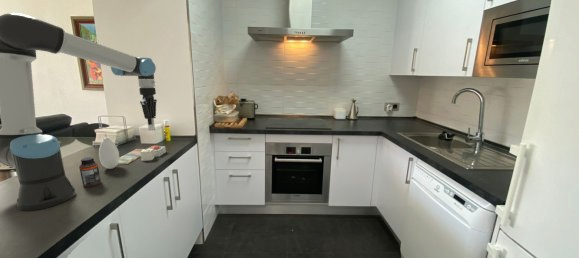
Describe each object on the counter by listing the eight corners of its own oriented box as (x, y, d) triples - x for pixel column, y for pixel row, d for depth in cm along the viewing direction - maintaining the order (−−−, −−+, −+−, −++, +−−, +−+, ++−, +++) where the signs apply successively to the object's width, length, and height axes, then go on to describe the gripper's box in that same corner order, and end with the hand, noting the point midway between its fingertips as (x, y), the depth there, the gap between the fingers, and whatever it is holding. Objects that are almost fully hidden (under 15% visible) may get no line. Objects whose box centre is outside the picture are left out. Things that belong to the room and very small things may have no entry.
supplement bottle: (86, 182, 104) (81, 157, 101) (103, 180, 106) (98, 155, 103) (80, 188, 98) (75, 161, 96) (98, 186, 100) (93, 159, 98)
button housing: (159, 156, 136) (158, 150, 136) (144, 156, 136) (143, 150, 135) (165, 152, 144) (165, 146, 144) (152, 152, 144) (151, 146, 143)
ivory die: (151, 160, 131) (150, 150, 129) (141, 160, 130) (140, 151, 128) (154, 157, 135) (153, 148, 134) (144, 157, 134) (143, 148, 133)
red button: (157, 153, 138) (156, 147, 137) (148, 153, 137) (148, 148, 137) (161, 150, 142) (160, 145, 142) (153, 150, 142) (152, 145, 142)
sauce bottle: (103, 166, 121) (97, 131, 117) (122, 164, 124) (116, 129, 121) (99, 172, 114) (92, 135, 110) (119, 169, 117) (113, 133, 114)
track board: (127, 164, 124) (126, 162, 124) (108, 164, 124) (108, 162, 124) (151, 150, 148) (151, 148, 148) (136, 150, 147) (135, 148, 147)
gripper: (148, 87, 126) (152, 132, 130) (160, 87, 139) (164, 127, 143) (133, 87, 126) (138, 132, 130) (146, 86, 138) (151, 127, 143)
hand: (151, 130), depth 137 cm, fingers closed
